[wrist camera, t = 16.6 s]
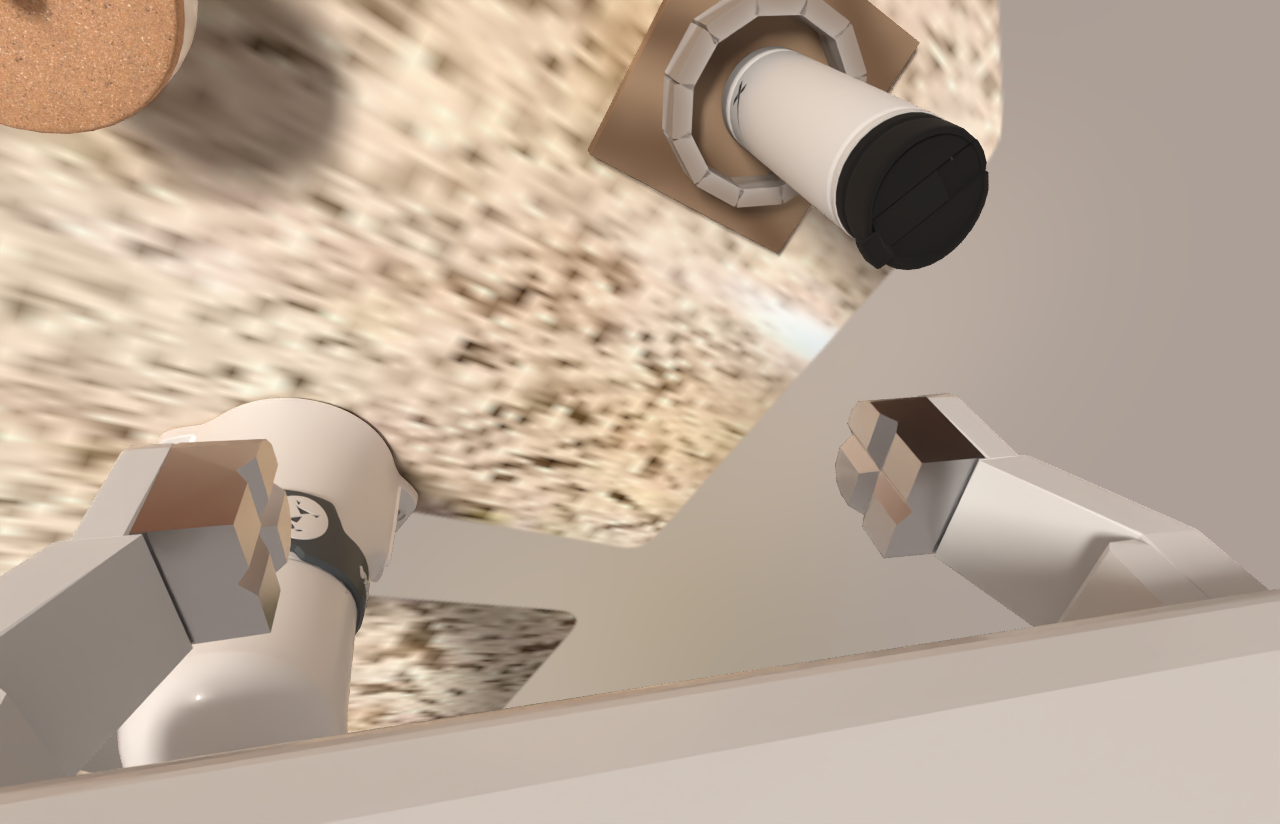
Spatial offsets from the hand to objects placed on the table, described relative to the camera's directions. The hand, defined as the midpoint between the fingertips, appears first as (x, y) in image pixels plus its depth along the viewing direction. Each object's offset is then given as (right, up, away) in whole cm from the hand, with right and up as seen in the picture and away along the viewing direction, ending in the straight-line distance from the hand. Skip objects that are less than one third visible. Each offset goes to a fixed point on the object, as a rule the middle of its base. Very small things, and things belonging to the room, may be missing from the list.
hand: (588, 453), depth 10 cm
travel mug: (+9, +21, +36) cm, 42 cm away
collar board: (+8, +21, +36) cm, 43 cm away
